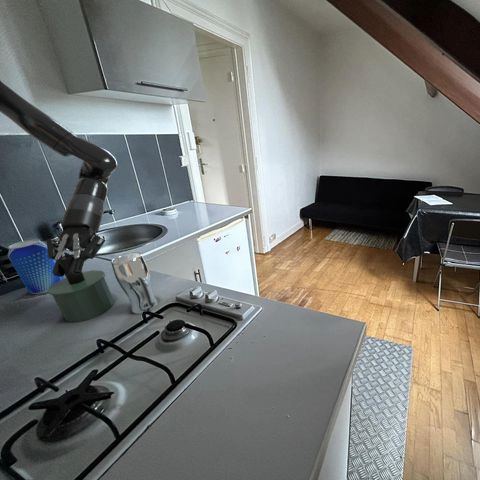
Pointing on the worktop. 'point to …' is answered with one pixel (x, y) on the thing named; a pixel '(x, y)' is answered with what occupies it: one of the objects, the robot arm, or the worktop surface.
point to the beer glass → (135, 281)
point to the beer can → (33, 265)
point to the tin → (85, 302)
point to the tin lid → (74, 279)
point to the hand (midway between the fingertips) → (66, 275)
